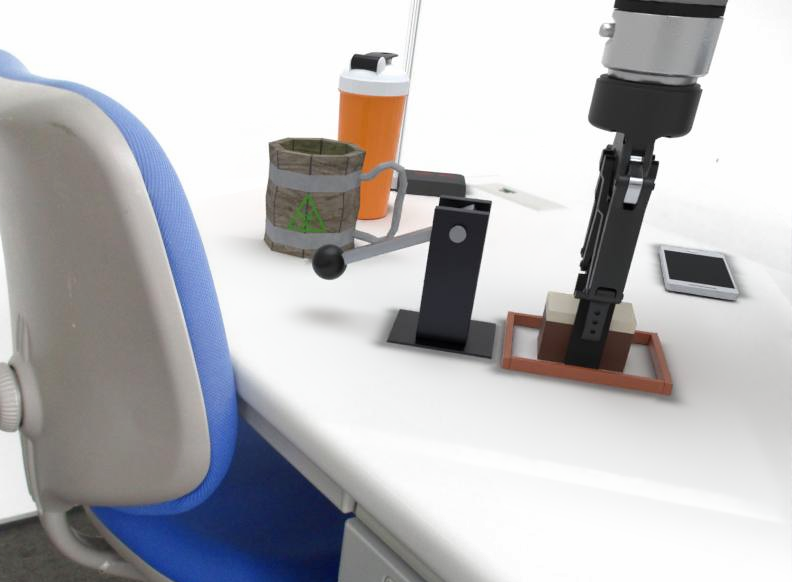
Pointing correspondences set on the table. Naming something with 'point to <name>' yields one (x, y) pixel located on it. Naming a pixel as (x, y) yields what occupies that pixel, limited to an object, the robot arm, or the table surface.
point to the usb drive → (432, 183)
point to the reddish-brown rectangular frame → (587, 374)
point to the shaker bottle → (373, 121)
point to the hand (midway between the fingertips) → (578, 357)
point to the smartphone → (697, 273)
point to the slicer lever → (364, 252)
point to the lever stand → (450, 284)
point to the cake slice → (560, 326)
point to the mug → (319, 195)
